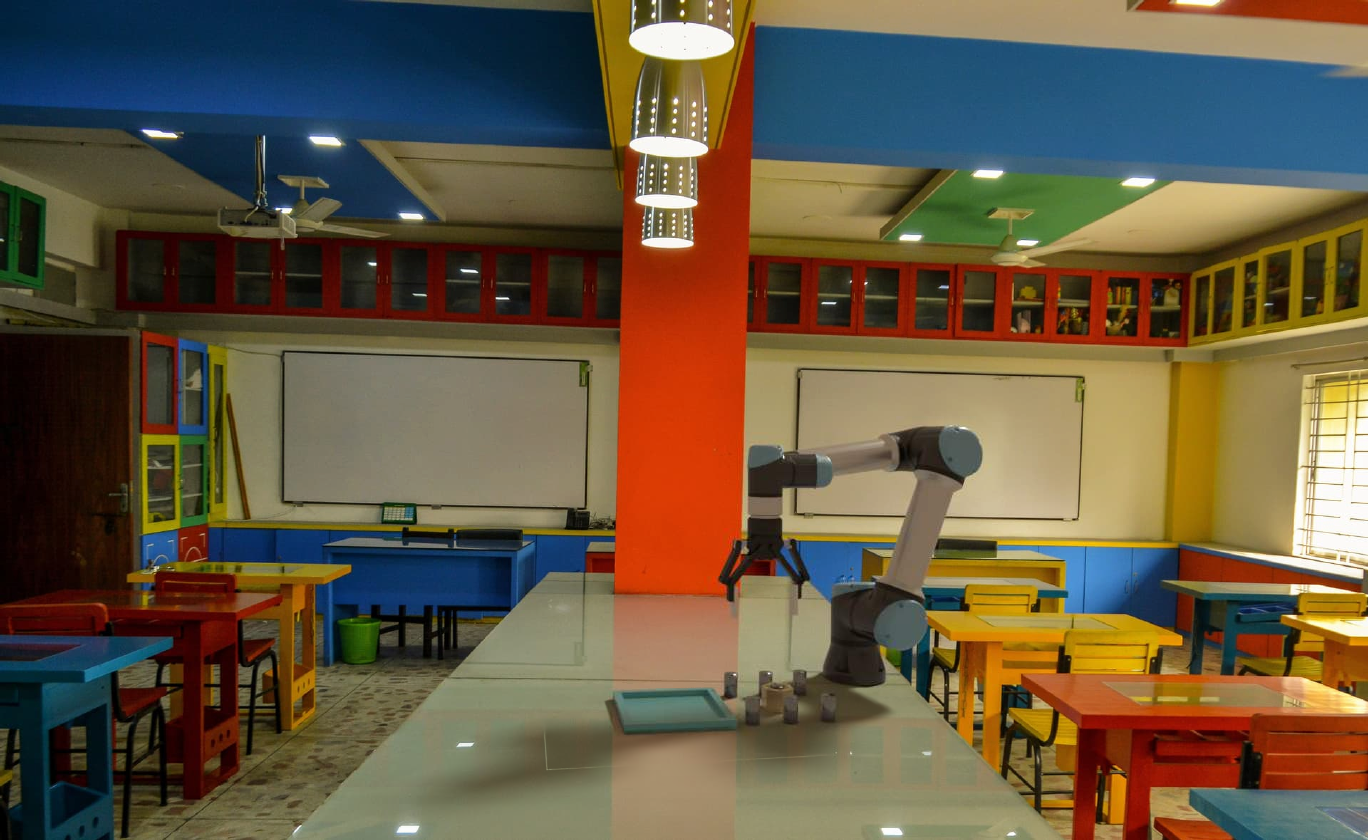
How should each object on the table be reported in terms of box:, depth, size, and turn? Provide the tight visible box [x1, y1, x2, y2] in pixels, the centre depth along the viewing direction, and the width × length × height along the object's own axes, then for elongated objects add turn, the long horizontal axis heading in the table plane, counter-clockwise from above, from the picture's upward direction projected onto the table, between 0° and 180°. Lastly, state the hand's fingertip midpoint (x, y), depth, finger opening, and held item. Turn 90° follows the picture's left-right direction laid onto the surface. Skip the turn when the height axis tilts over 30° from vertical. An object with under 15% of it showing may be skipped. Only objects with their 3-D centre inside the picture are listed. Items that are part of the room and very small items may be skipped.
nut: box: [760, 681, 794, 714], centre depth 178 cm, size 6×7×5 cm
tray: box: [612, 686, 739, 735], centre depth 172 cm, size 22×22×2 cm
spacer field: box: [723, 669, 837, 727], centre depth 178 cm, size 19×21×5 cm
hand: (764, 615), depth 179 cm, fingers open, 13 cm apart
